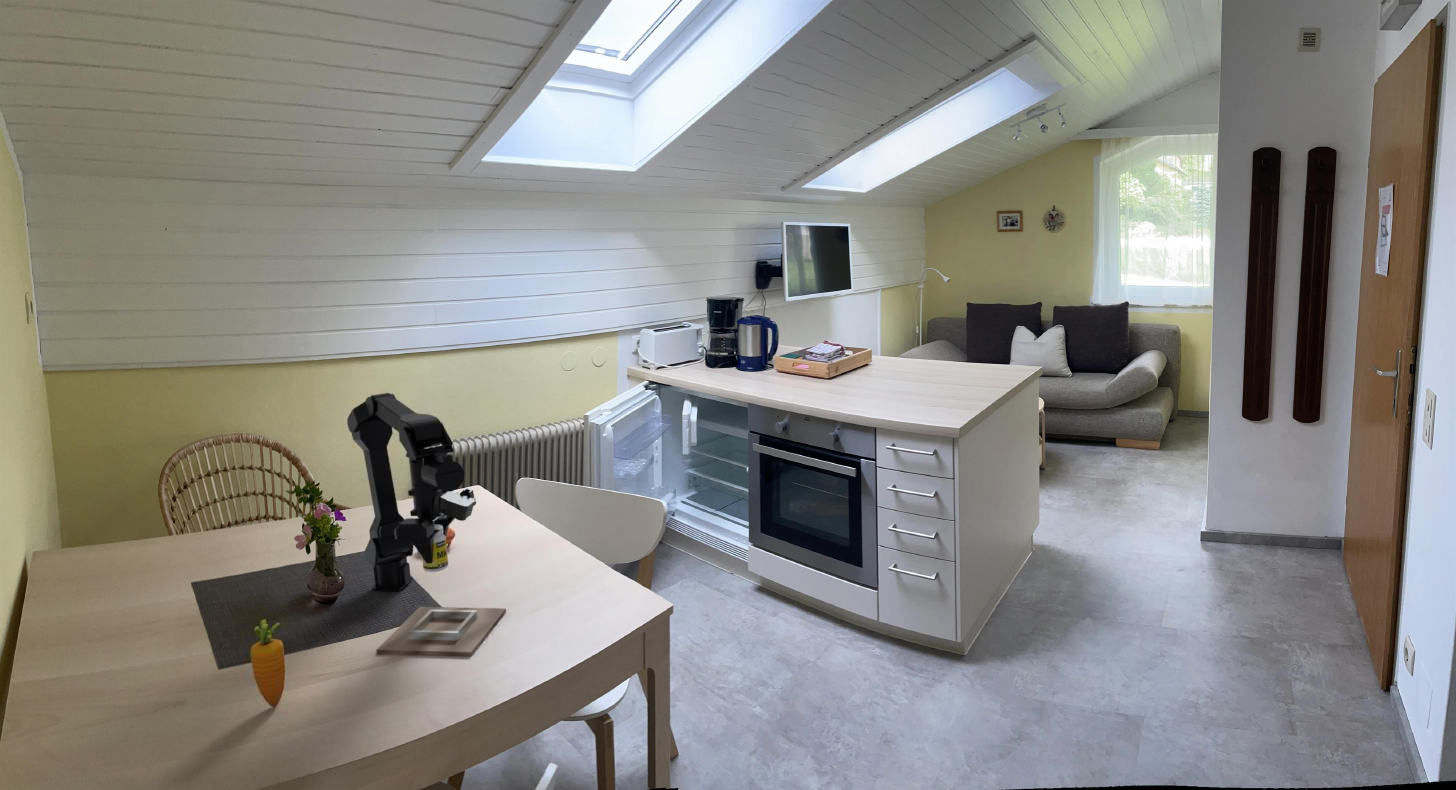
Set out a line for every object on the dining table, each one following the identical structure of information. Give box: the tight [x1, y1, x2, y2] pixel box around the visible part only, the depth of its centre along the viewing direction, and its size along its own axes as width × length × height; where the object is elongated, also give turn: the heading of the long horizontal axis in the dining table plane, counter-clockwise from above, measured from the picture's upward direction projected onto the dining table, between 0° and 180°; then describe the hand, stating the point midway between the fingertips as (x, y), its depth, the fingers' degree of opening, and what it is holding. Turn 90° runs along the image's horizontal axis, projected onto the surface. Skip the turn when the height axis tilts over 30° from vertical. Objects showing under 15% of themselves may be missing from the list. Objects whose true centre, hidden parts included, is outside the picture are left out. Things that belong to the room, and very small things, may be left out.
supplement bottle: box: [421, 524, 449, 573], centre depth 166 cm, size 5×5×8 cm
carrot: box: [250, 618, 286, 708], centre depth 136 cm, size 5×5×15 cm
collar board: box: [375, 606, 507, 657], centre depth 162 cm, size 18×18×2 cm
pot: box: [446, 526, 456, 547], centre depth 206 cm, size 8×8×7 cm
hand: (435, 558), depth 166 cm, fingers closed on supplement bottle, 5 cm apart
